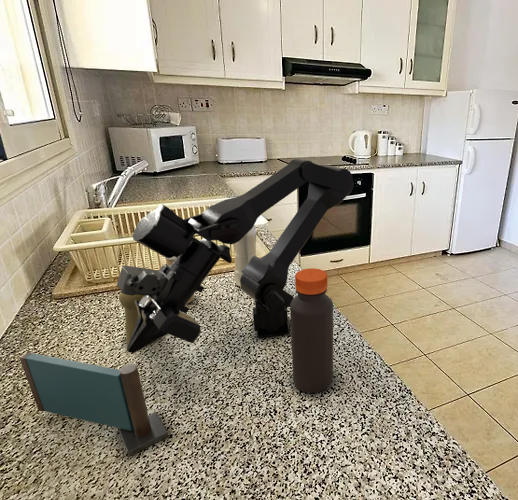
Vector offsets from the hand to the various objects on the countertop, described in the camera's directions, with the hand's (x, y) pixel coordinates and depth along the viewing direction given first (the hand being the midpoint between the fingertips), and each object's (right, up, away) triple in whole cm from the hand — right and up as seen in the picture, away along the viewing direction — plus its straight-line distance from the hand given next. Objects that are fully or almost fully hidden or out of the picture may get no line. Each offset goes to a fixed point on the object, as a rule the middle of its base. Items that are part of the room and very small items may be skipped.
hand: (129, 351), depth 60 cm
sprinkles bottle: (-4, +4, +29) cm, 29 cm away
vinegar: (+29, -6, +4) cm, 30 cm away
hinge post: (+6, -10, -7) cm, 14 cm away
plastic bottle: (+9, +7, +37) cm, 39 cm away
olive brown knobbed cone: (-6, -1, +14) cm, 16 cm away
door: (-3, -8, -6) cm, 10 cm away
